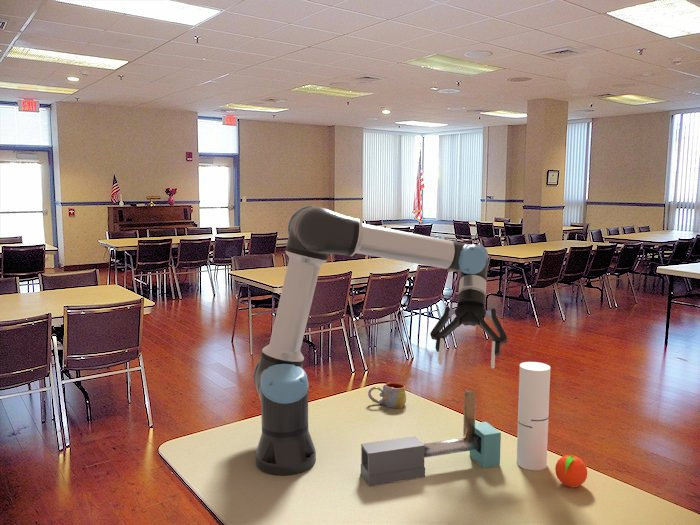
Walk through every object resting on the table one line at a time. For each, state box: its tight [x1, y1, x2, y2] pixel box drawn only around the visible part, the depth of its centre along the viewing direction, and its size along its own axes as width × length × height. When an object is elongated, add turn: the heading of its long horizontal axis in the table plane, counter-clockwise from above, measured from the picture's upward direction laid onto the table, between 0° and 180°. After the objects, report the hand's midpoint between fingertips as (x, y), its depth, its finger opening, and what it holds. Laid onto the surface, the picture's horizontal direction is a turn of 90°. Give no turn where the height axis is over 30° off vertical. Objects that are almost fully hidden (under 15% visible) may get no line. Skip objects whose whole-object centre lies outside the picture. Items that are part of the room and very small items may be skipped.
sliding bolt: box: [423, 389, 481, 459], centre depth 141 cm, size 3×18×15 cm, turn 107°
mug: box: [367, 382, 407, 409], centre depth 183 cm, size 12×7×7 cm, turn 81°
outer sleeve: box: [360, 435, 426, 487], centre depth 137 cm, size 6×14×8 cm, turn 107°
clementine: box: [554, 454, 588, 488], centre depth 132 cm, size 8×7×7 cm
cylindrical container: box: [516, 361, 551, 472], centre depth 142 cm, size 7×7×25 cm
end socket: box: [469, 421, 502, 469], centre depth 144 cm, size 7×4×8 cm, turn 17°
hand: (465, 364), depth 151 cm, fingers open, 13 cm apart
